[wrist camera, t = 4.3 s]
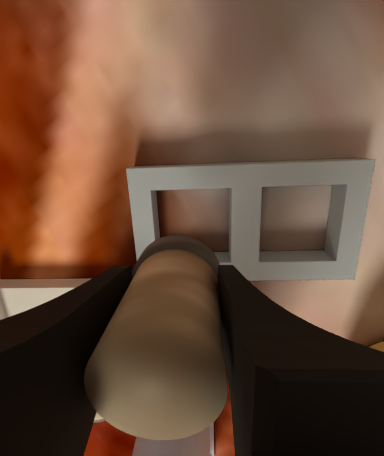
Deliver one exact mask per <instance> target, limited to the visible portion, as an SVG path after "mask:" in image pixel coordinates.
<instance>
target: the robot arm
mask: <svg viewBox="0 0 384 456" xmlns="http://www.w3.org/2000/svg"><path fill="white" fill-rule="evenodd" d="M131 281H132V272H131V266H115V267H113V268H110V269H108V270H107V271H105V272H103V273H101V274H99V275H97V276H96V277H94V278H92V279H90V280H89V281H87V282H85V283H83V284H81V285H80V286H78V287H76V288H74V289H72V290H70V291H68V292H66V293H64V294H62V295H60V296H58V297H56V298H54V299H52V300H50V301H48V302H46V303H43V304H41V305H39V306H36V307H34V308H31V309H29V310H26V311H24V312H21V313H18V314H16V315H13V316H10V317H7V318H4V319H1V320H0V456H83V455H84V452H85V449H86V445H87V442H88V439H89V435H90V432H91V429H92V425H93V422H94V419H95V416H96V413H97V411H96V410H95V409H94V407H93V406H92V404H91V403H90V401H89V399H88V397H87V394H86V391H85V385H84V374H85V369H86V366H87V363H88V361H89V359H90V357H91V355H92V354H93V352H94V350H95V348H96V346H97V344H98V342H99V341H100V339H101V337H102V335H103V333H104V331H105V329H106V328H107V326H108V324H109V322H110V320H111V318H112V316H113V315H114V313H115V311H116V309H117V307H118V305H119V303H120V302H121V300H122V298H123V296H124V294H125V292H126V290H127V289H128V287H129V285H130V283H131ZM218 292H219V302H220V313H221V324H222V335H223V346H224V357H225V364H226V370H227V376H228V381H229V389H230V397H231V409H232V421H233V434H234V446H235V456H384V352H382V351H379V350H376V349H373V348H370V347H367V346H364V345H361V344H358V343H355V342H352V341H350V340H347V339H345V338H342V337H340V336H338V335H335V334H333V333H330V332H328V331H326V330H323V329H321V328H319V327H317V326H315V325H313V324H311V323H309V322H307V321H305V320H303V319H301V318H299V317H297V316H296V315H294V314H292V313H290V312H289V311H287V310H286V309H284V308H283V307H281V306H279V305H278V304H276V303H275V302H273V301H272V300H271V299H269V298H268V297H267V296H266V295H264V294H263V293H262V292H260V291H259V290H258V289H257V288H256V287H255V286H253V285H252V284H251V283H250V282H249V281H248V280H247V279H246V278H245V277H244V276H243V275H242V274H241V273H240V272H239V271H238V269H237V268H236V267H235V266H234V265H218ZM132 456H214V422H213V423H212V424H211V425H210V426H208V427H207V428H205V429H204V430H202V431H200V432H198V433H196V434H194V435H191V436H188V437H185V438H180V439H174V440H151V439H145V438H141V437H136V441H135V446H134V450H133V454H132Z"/></svg>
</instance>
